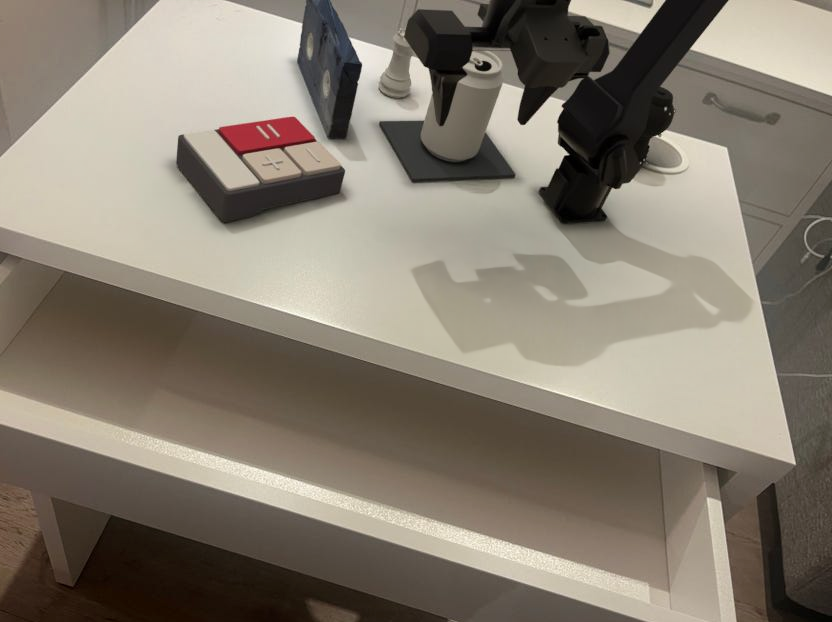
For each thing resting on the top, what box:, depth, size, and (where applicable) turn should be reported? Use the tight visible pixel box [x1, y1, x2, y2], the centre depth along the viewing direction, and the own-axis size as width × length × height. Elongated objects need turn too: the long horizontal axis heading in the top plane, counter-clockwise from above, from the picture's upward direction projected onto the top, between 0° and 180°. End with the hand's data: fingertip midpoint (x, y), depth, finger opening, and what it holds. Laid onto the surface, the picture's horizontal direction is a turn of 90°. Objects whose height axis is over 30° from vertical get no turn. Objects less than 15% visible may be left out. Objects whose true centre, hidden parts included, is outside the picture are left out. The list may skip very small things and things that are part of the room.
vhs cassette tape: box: [296, 0, 363, 139], centre depth 95 cm, size 18×3×10 cm, turn 13°
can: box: [421, 51, 505, 162], centre depth 91 cm, size 8×8×12 cm
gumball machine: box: [633, 86, 677, 167], centre depth 99 cm, size 7×6×10 cm
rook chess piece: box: [377, 27, 414, 99], centre depth 100 cm, size 4×4×8 cm
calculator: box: [175, 116, 346, 223], centre depth 83 cm, size 11×4×15 cm
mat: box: [378, 120, 517, 183], centre depth 95 cm, size 14×12×1 cm
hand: (480, 123), depth 76 cm, fingers open, 9 cm apart
